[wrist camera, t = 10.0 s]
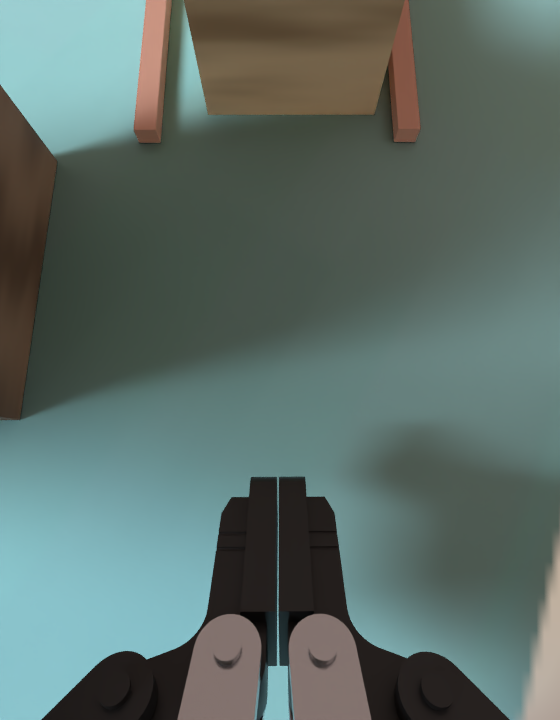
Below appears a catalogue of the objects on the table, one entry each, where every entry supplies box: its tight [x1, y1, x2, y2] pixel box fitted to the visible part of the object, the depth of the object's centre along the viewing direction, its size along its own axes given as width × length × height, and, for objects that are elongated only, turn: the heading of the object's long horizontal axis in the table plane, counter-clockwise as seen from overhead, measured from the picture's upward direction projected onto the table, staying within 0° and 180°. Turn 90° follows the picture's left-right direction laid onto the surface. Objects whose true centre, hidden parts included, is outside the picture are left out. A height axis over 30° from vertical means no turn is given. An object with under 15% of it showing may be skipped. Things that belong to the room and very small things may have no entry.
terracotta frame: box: [134, 0, 421, 143], centre depth 21 cm, size 14×13×1 cm
